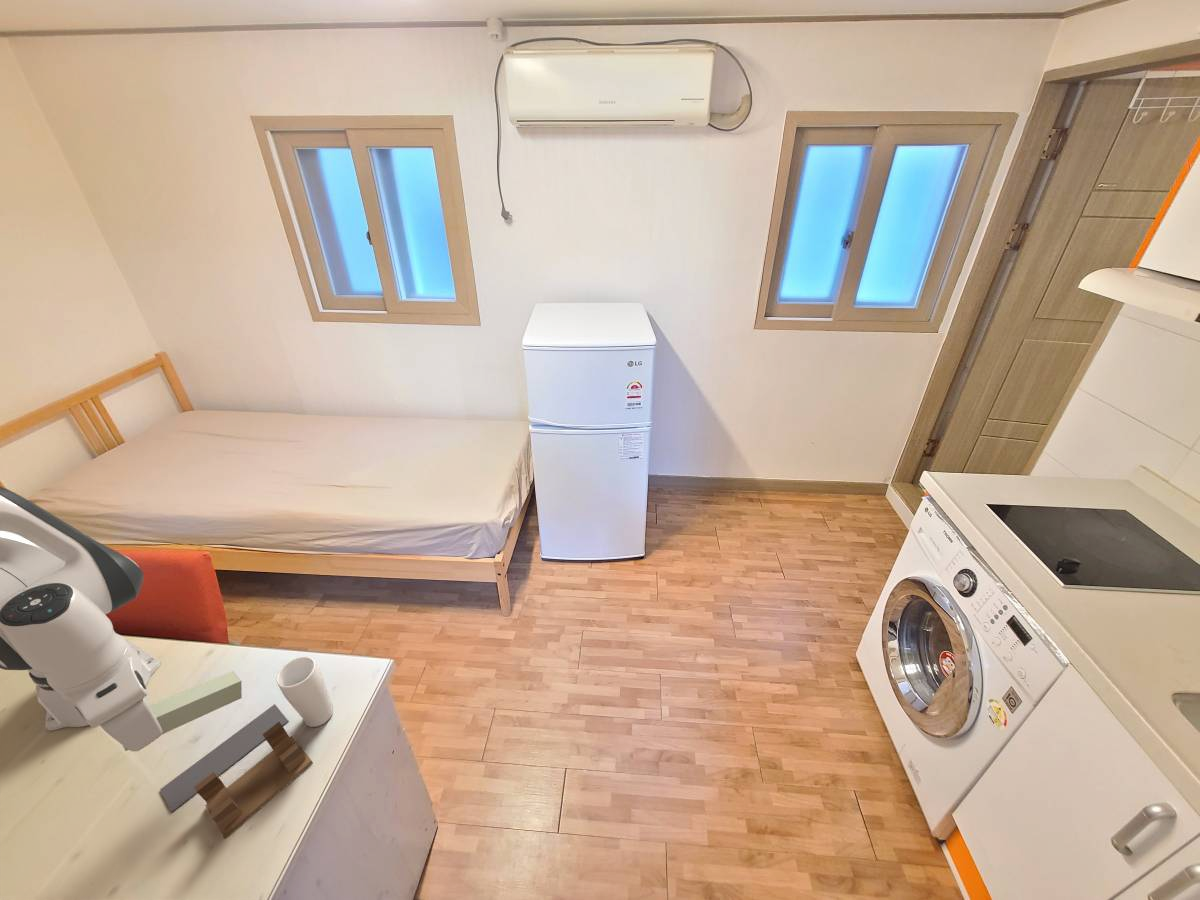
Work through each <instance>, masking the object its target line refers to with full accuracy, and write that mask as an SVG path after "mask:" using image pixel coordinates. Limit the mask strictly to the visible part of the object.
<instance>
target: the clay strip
mask: <svg viewBox="0 0 1200 900" xmlns="http://www.w3.org/2000/svg"><path fill="white" fill-rule="evenodd" d="M242 687H243V686H242V679H241V678H240V677H239V676H238V674H237V673H236V672H235V670H232V671H230V672H228V673H227V672H226V673H224V674H222V675H220V676H217V677H215V678H212V679H210V680H208V681H205V682H203V683H200V684H198V685H194V686H193V687H191V688H188V689H186V690H183V691H181V692H178V693H176V694H174V695H171V696H168V697H167V698H164V699H161V700H159V701H157V702H154V703H152V704H149V705H150V707H151V709H152V711H153V713H154V715H155V717H156V719H157V720H158V722H159V724H160V726H161V728H162V735H164V734H166V733H168V732H171V731H172V730H173V731H174V730H175V729H177V728H179V727H181V726H183V725H187V724H188V723H190V722H193V721H195V720H197V719H199V718H202V717H204V716H205V715H207V714H210V713H212V712H214V711H217V710H219V709H221V708H223V707H225V706H228V705H230V704H232V703H233V702H236V701H238V700H241V699H242V698H243V697H242V696H243V695H242ZM122 747H123V749H124V751H125V752H127V751H130V750H129V749H127V748H126V747H124V746H123V745H122Z"/></svg>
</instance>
